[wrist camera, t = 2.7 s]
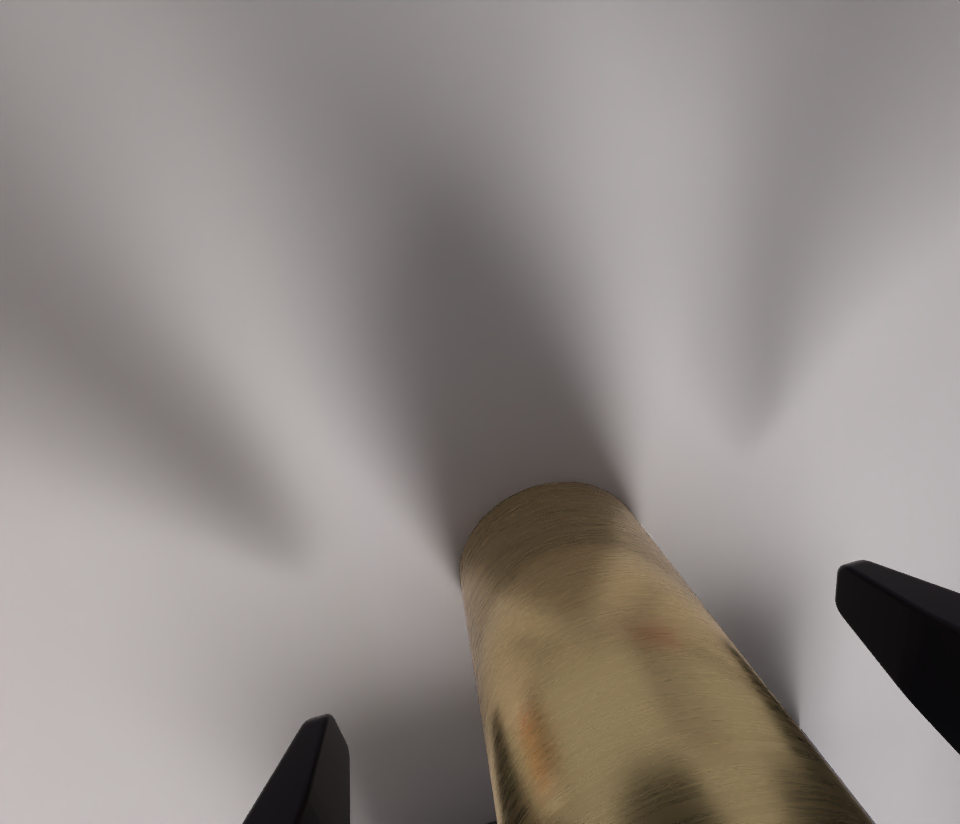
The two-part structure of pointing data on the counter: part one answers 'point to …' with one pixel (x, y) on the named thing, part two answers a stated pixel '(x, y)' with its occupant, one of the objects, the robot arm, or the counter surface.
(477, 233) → the counter surface
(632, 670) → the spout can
